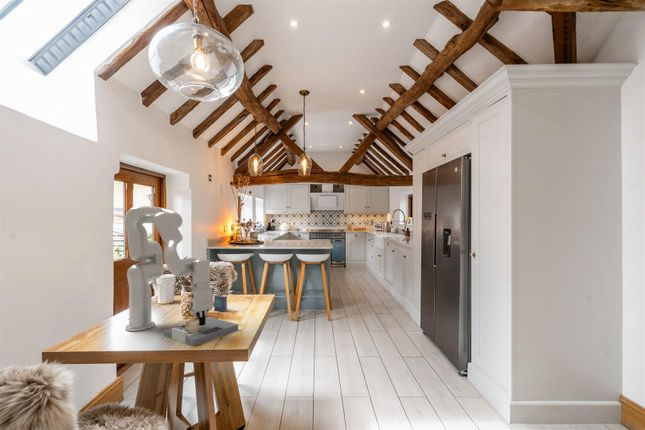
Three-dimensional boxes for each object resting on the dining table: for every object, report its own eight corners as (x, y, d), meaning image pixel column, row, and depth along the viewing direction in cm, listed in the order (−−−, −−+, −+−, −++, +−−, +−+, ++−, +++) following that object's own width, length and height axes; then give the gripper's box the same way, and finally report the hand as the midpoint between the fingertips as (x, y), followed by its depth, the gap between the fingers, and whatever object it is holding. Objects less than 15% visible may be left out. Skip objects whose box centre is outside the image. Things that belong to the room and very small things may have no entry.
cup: (178, 300, 208) (178, 274, 208) (171, 304, 197) (171, 277, 197) (160, 300, 207) (160, 274, 207) (152, 305, 196) (152, 277, 196)
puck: (182, 331, 141) (182, 320, 141) (194, 328, 146) (194, 317, 146) (189, 334, 137) (189, 323, 137) (201, 330, 142) (201, 319, 142)
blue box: (227, 311, 182) (227, 292, 182) (224, 312, 179) (224, 293, 179) (216, 309, 186) (216, 291, 186) (212, 310, 184) (212, 292, 184)
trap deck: (164, 335, 143) (164, 325, 143) (209, 321, 163) (209, 312, 163) (193, 346, 131) (193, 335, 131) (238, 329, 151) (238, 320, 151)
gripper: (192, 289, 139) (192, 331, 138) (219, 283, 151) (220, 321, 151) (182, 287, 143) (182, 328, 142) (209, 282, 155) (210, 319, 155)
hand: (201, 324), depth 146 cm, fingers closed
